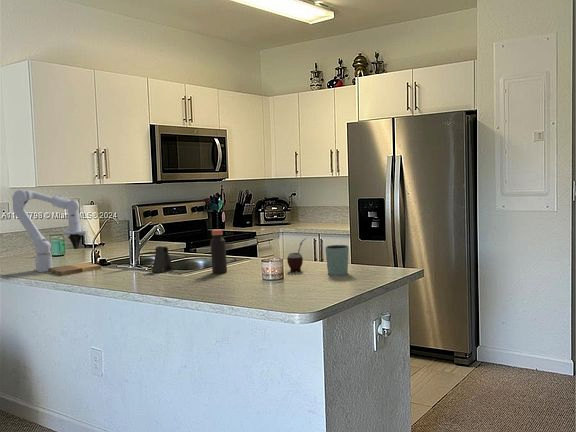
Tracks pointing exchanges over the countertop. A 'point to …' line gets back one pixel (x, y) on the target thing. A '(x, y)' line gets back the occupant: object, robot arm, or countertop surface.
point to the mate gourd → (295, 260)
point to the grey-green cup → (337, 259)
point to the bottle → (218, 252)
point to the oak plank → (87, 266)
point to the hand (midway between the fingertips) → (76, 248)
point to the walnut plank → (64, 270)
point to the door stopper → (162, 260)
